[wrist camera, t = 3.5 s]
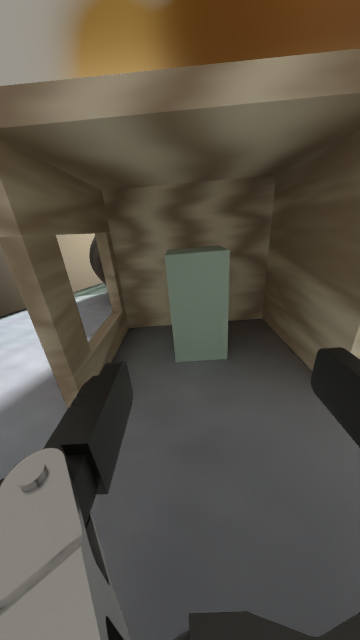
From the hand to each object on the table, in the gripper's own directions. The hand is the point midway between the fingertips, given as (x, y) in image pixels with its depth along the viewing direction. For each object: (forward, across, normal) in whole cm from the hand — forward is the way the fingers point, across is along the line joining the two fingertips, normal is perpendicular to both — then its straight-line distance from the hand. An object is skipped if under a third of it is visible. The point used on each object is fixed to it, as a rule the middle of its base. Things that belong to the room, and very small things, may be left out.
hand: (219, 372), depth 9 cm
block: (+12, 0, +6) cm, 13 cm away
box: (+11, 0, +6) cm, 12 cm away
